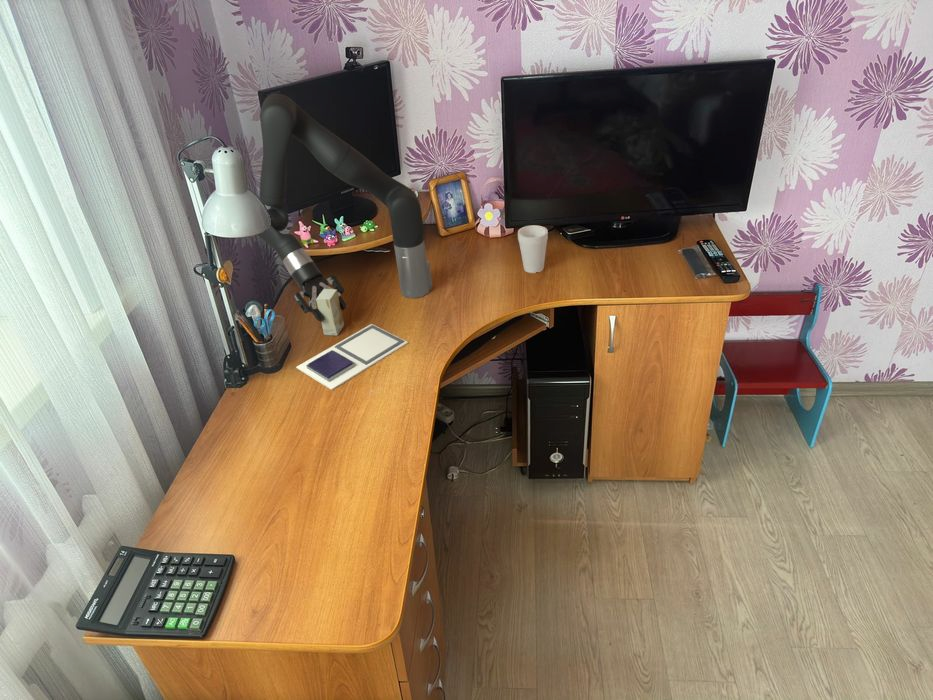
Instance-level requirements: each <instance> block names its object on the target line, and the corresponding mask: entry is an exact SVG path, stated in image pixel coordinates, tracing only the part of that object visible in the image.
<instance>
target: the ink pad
mask: <svg viewBox="0 0 933 700" xmlns="http://www.w3.org/2000/svg"><path fill="white" fill-rule="evenodd" d="M306 366H307V369H309V370H311V371H312V372H314V373H315V374H317V375H319V376H320V377H322V378H323V379H325V380H327V381H328V382H330V381H332V380H333V379H335V378H337V377H338V376H340V375H342V374H343V373H345V372H347V371H348V370H350V369H351V368H353V367H355V366H356V365H355V363H354V362H353V361H351V360H349V359H347V358H346V357H344V356H342V355H340V354H339V353H337V352H335V351H333V350H331V351H330V352H328V353H326V354H324V355H323V356H321V357H319V358H317V359H316V360H314V361H312V362H310V363H309V364H308V365H306Z"/></svg>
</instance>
